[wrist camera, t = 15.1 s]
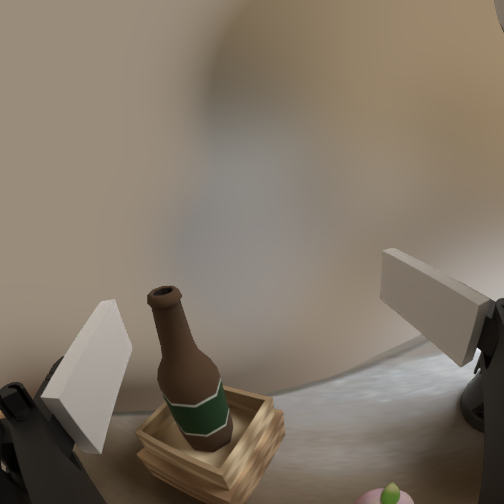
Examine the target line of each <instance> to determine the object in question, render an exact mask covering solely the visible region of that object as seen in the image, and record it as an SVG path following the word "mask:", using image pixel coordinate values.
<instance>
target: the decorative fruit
mask: <svg viewBox="0 0 504 504" xmlns="http://www.w3.org/2000/svg"><path fill="white" fill-rule="evenodd" d="M355 504H414V502H413V500H412V498H411V497H410V496H409V495H408V494H407V493H405V492H403V491H400V490H399V488H398V487H397V485H396V484H394V483H393V482H391V483H390V484H388V485H387V486H386V487H385V488H380V489H375V490H371V491H369V492H367V493H365V494H363V495H362V496H360V497H359V498H358V500H357V501H356V502H355Z"/></svg>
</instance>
